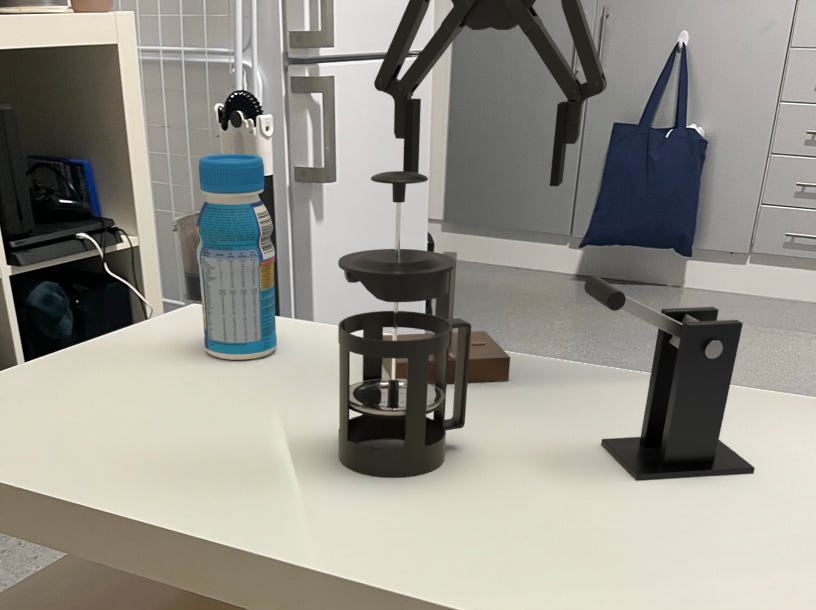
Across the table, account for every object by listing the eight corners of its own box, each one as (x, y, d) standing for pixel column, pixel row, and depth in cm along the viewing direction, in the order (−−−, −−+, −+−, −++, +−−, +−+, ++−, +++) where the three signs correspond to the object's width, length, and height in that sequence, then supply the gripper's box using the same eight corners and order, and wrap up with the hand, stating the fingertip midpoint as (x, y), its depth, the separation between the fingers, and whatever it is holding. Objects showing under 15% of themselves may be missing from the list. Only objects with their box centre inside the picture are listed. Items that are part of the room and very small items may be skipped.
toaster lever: (600, 312, 75) (617, 281, 74) (577, 296, 79) (593, 266, 78) (716, 369, 79) (734, 340, 78) (688, 350, 83) (705, 323, 82)
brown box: (483, 353, 114) (485, 329, 113) (508, 380, 106) (510, 355, 104) (378, 357, 113) (379, 333, 111) (395, 386, 104) (396, 360, 103)
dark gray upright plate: (439, 338, 110) (443, 249, 105) (452, 339, 110) (457, 249, 105) (433, 351, 106) (437, 259, 101) (446, 352, 106) (451, 259, 101)
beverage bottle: (221, 366, 110) (208, 165, 100) (192, 346, 117) (177, 155, 106) (290, 354, 114) (285, 159, 103) (258, 336, 120) (250, 150, 109)
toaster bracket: (634, 492, 82) (661, 332, 75) (599, 455, 88) (620, 305, 82) (751, 484, 83) (788, 326, 76) (707, 448, 90) (737, 300, 83)
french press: (354, 498, 81) (356, 185, 69) (312, 457, 88) (308, 168, 76) (484, 476, 84) (508, 176, 72) (434, 438, 92) (448, 160, 80)
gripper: (339, -102, 82) (340, 181, 94) (655, -115, 75) (615, 193, 87) (367, -96, 88) (365, 170, 100) (662, -106, 81) (624, 180, 93)
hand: (481, 181), depth 93 cm, fingers open, 13 cm apart
